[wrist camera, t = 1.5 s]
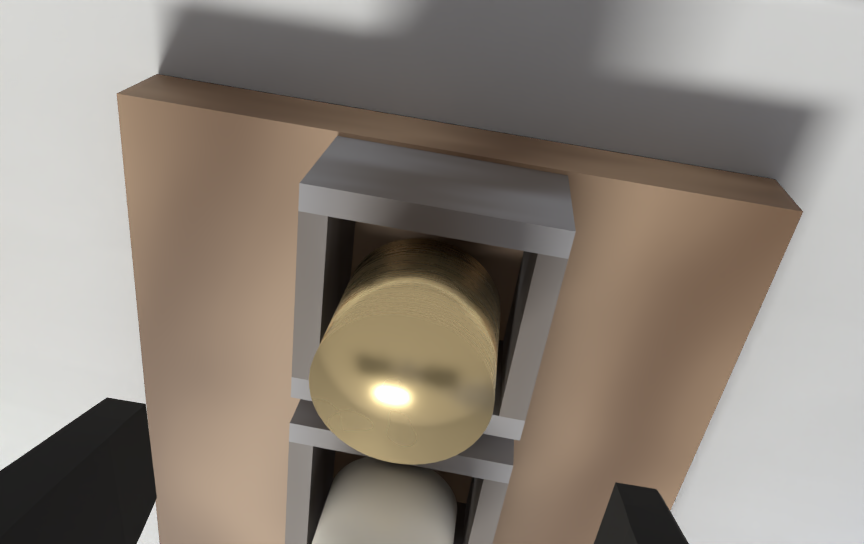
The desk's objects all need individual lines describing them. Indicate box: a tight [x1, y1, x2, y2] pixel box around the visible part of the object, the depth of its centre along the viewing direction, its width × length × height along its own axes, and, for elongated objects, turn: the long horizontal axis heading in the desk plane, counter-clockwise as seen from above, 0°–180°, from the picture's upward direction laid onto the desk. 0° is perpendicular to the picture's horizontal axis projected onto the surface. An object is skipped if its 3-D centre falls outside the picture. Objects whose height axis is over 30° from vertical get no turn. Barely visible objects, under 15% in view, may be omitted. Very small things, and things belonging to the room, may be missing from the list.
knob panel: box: [117, 74, 803, 544], centre depth 20 cm, size 16×18×5 cm
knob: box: [309, 238, 501, 465], centre depth 14 cm, size 3×3×3 cm
